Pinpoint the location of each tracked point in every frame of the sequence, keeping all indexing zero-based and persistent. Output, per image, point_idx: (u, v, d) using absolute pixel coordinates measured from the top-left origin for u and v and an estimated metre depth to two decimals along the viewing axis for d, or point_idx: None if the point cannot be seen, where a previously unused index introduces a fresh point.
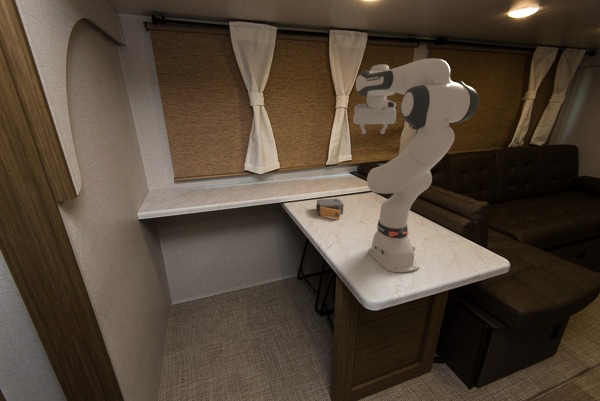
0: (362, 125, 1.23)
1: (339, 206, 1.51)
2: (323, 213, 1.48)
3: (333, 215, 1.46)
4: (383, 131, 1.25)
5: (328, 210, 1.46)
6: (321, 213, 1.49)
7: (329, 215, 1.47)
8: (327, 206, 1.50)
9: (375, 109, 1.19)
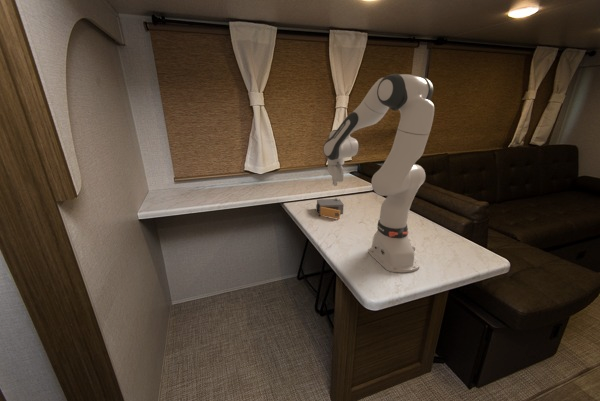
0: None
1: (339, 206, 1.51)
2: (323, 213, 1.48)
3: (333, 215, 1.46)
4: None
5: (328, 210, 1.46)
6: (321, 213, 1.49)
7: (329, 215, 1.47)
8: (327, 206, 1.50)
9: (341, 165, 1.38)
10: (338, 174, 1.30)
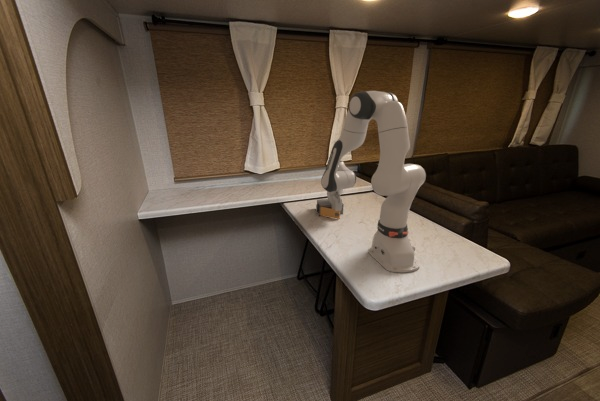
0: None
1: None
2: (323, 213, 1.48)
3: (333, 215, 1.46)
4: None
5: (328, 210, 1.46)
6: (321, 213, 1.49)
7: (329, 215, 1.47)
8: (327, 206, 1.50)
9: None
10: (337, 204, 1.36)
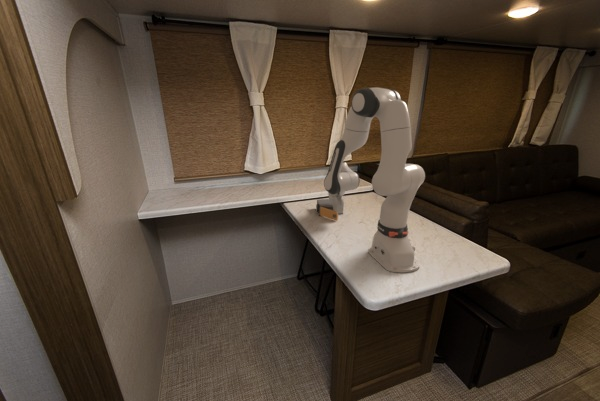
0: None
1: None
2: (322, 213, 1.48)
3: (331, 216, 1.44)
4: None
5: (327, 211, 1.45)
6: (321, 213, 1.49)
7: (328, 216, 1.46)
8: (327, 206, 1.50)
9: None
10: (338, 206, 1.32)
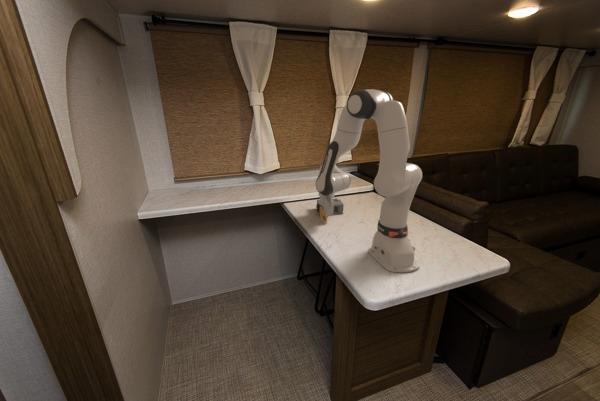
0: None
1: (339, 206, 1.51)
2: (320, 214, 1.48)
3: None
4: None
5: (322, 212, 1.44)
6: (319, 213, 1.49)
7: (322, 217, 1.44)
8: None
9: None
10: (328, 207, 1.31)
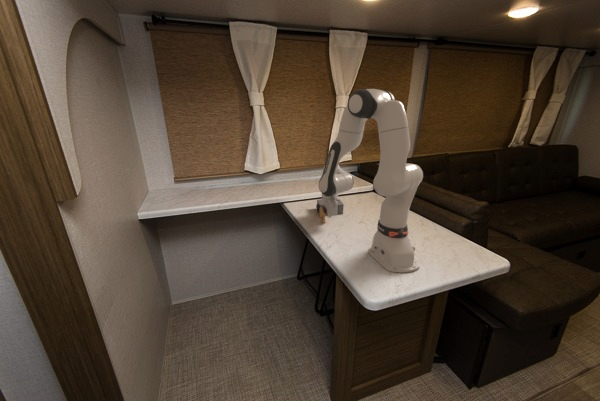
0: None
1: (339, 206, 1.51)
2: (320, 214, 1.48)
3: (322, 218, 1.42)
4: None
5: (321, 212, 1.44)
6: (319, 213, 1.49)
7: (321, 217, 1.44)
8: None
9: (335, 197, 1.38)
10: (332, 208, 1.30)
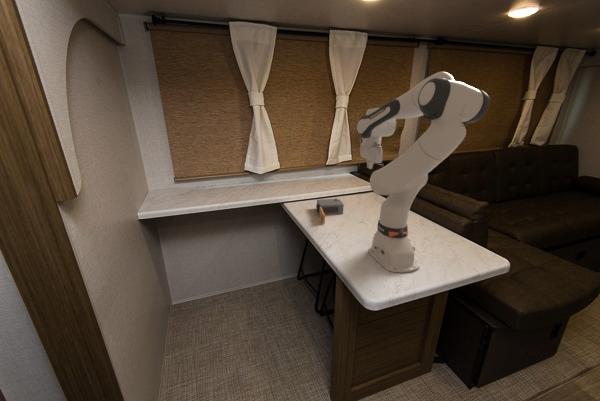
0: None
1: (339, 206, 1.51)
2: (320, 214, 1.48)
3: (322, 218, 1.42)
4: None
5: (321, 212, 1.44)
6: (319, 213, 1.49)
7: (321, 217, 1.44)
8: (327, 206, 1.50)
9: None
10: (377, 155, 1.22)
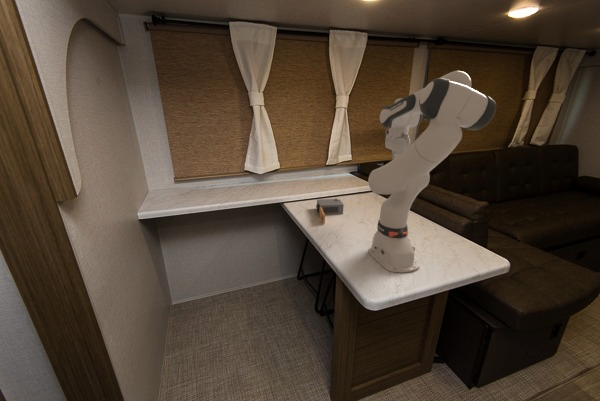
0: (399, 152, 1.30)
1: (339, 206, 1.51)
2: (320, 214, 1.48)
3: (322, 218, 1.42)
4: None
5: (321, 212, 1.44)
6: (319, 213, 1.49)
7: (321, 217, 1.44)
8: (327, 206, 1.50)
9: None
10: (405, 146, 1.21)
